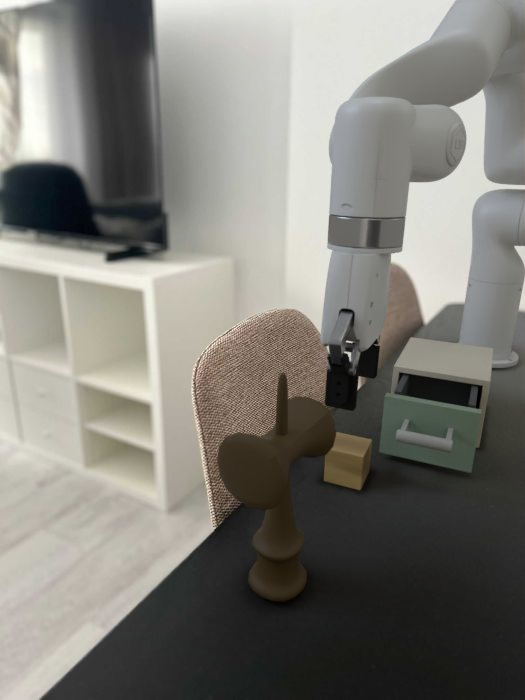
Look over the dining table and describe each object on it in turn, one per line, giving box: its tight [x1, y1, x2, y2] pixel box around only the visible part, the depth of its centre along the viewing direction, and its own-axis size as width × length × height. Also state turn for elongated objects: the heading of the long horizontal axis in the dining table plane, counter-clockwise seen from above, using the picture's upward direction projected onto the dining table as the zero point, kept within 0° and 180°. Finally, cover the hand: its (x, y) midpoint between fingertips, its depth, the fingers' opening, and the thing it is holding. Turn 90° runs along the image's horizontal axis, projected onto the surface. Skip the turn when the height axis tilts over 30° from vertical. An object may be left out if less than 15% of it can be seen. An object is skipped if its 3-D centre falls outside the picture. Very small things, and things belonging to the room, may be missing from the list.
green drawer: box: [378, 373, 482, 474], centre depth 65 cm, size 18×11×8 cm, turn 156°
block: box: [323, 431, 373, 491], centre depth 60 cm, size 4×4×4 cm
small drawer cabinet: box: [390, 336, 493, 449], centre depth 74 cm, size 14×12×10 cm
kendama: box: [216, 372, 337, 603], centre depth 42 cm, size 6×10×20 cm, turn 146°
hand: (352, 390), depth 57 cm, fingers open, 9 cm apart
